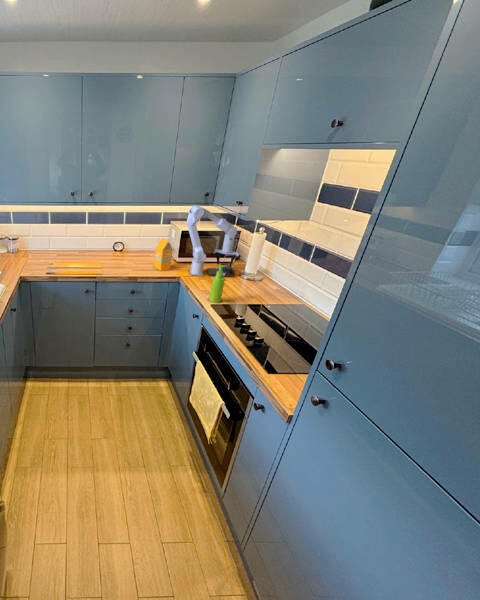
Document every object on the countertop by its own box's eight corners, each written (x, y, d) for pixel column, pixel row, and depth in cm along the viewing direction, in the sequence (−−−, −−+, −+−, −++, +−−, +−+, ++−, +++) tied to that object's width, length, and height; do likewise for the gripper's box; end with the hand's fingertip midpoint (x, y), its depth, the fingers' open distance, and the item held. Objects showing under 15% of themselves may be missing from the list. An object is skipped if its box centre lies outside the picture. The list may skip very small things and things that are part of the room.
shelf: (206, 270, 221) (207, 263, 219) (229, 271, 219) (230, 264, 217) (209, 275, 211) (210, 269, 209) (233, 277, 209) (235, 270, 207)
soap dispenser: (224, 301, 177) (231, 266, 168) (213, 303, 175) (220, 268, 166) (217, 297, 182) (224, 263, 173) (206, 298, 180) (213, 264, 172)
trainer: (220, 269, 218) (221, 263, 217) (227, 270, 216) (229, 264, 214) (216, 274, 210) (218, 268, 208) (224, 275, 208) (225, 269, 206)
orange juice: (163, 265, 230) (166, 237, 221) (170, 269, 222) (173, 241, 214) (153, 266, 228) (156, 238, 219) (160, 270, 220) (163, 242, 212)
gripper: (214, 244, 207) (211, 264, 213) (239, 247, 200) (234, 268, 206) (217, 242, 212) (213, 261, 218) (241, 245, 205) (236, 265, 211)
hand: (224, 264), depth 212 cm, fingers open, 7 cm apart
